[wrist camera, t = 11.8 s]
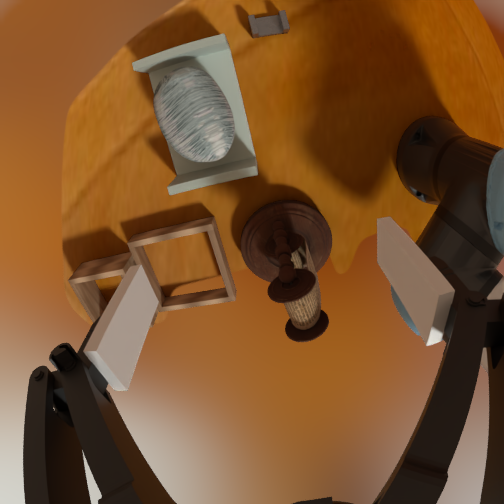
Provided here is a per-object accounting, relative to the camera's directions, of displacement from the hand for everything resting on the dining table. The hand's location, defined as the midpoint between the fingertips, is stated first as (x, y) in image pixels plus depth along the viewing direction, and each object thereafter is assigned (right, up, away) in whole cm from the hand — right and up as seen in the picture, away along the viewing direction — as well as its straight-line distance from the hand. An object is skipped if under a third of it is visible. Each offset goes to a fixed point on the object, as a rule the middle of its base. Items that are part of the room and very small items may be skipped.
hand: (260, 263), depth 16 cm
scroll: (+5, +3, +34) cm, 34 cm away
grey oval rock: (-8, +20, +23) cm, 31 cm away
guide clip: (+2, +32, +17) cm, 37 cm away
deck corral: (-12, -1, +36) cm, 38 cm away
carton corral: (-26, -6, +39) cm, 47 cm away
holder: (-8, +21, +24) cm, 32 cm away
